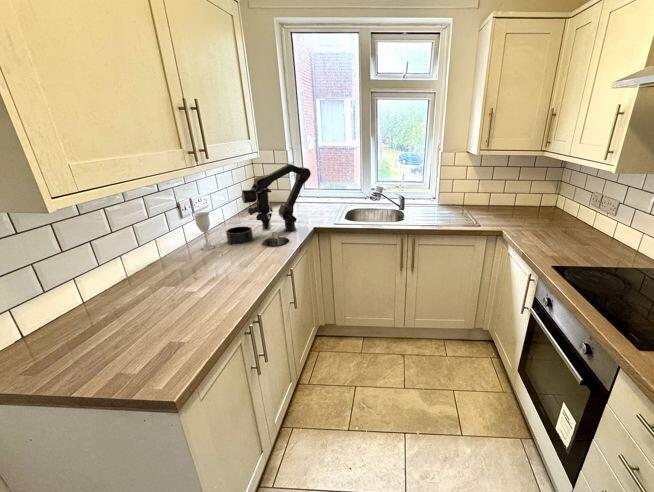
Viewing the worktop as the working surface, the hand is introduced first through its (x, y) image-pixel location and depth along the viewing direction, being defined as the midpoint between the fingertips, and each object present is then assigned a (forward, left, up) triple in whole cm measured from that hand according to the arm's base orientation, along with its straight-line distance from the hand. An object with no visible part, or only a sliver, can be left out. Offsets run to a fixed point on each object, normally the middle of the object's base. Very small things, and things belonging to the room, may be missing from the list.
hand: (266, 227), depth 179 cm
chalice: (+16, -27, -5) cm, 32 cm away
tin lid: (+14, +6, -4) cm, 16 cm away
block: (0, 0, -1) cm, 1 cm away
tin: (+8, -13, -4) cm, 16 cm away
